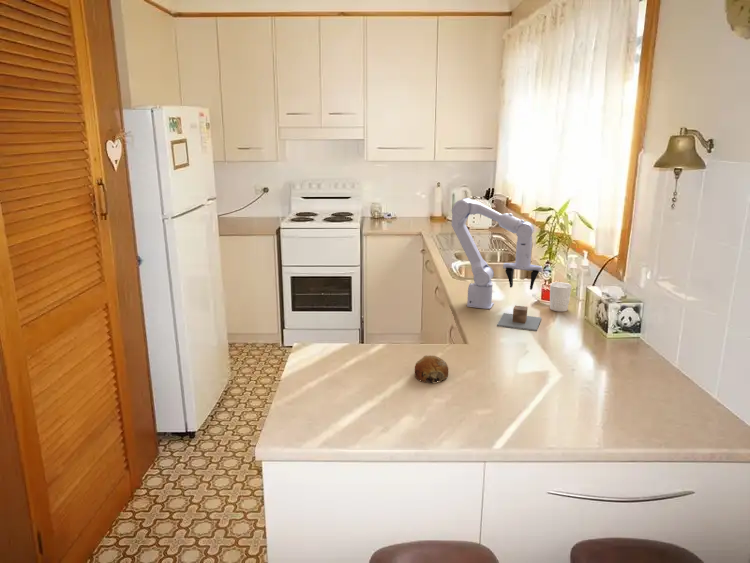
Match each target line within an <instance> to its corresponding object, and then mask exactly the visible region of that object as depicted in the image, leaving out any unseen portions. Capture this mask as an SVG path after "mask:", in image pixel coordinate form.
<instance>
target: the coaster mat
mask: <svg viewBox="0 0 750 563" xmlns="http://www.w3.org/2000/svg"><path fill="white" fill-rule="evenodd" d="M541 321H542V317H541V316H531V315H527V320H526V322H525V323H517V322H513V313H507V312H504V313H503V314H502V316H501V317H500V319H499V320H498V322H497V324H496V327H501V328H510V329H516V330H523V331H524V330H526V331H533V332H537V331H538V329H539V326H540V324H541Z"/></svg>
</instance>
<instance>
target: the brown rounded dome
mask: <svg viewBox="0 0 750 563" xmlns="http://www.w3.org/2000/svg"><path fill="white" fill-rule="evenodd" d="M414 377H415V378H416V380H418V379H419V380H421V381H420V382H422V381H425V382H424V383H427V382H437V381H441V382H443V381H445V380H446V379H447V378H448V377H449V366H448V364H447V362H446V361H445V359H443V358H441V357H439V356H437V355H430V354H429V355H428V354H427V355H424V356H423V357H421V358H420V359H419V360H418V361H417V362H416V363H415V365H414ZM444 379H445V380H444ZM419 380H418V381H419ZM442 380H443V381H442ZM437 383H438V382H437Z"/></svg>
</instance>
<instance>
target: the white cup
mask: <svg viewBox="0 0 750 563" xmlns="http://www.w3.org/2000/svg"><path fill="white" fill-rule="evenodd" d="M549 287H550V288H549V309H550V310H551V311H555V312H566V311H568V309H569V304H570V298H571V291H572V284H570V283H568V282H561V281H560V282H559V281H556V282H555V281H554V282H550V285H549Z"/></svg>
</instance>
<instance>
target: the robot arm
mask: <svg viewBox="0 0 750 563" xmlns="http://www.w3.org/2000/svg"><path fill="white" fill-rule="evenodd" d="M451 213H452V214H451V227H452V230H453V232H454V233H455V235H456V238H457V239H458V241H459V243H460V246H461V248H462V249H463V251H464V253H465V256H466V257H467V259H468V261H469V263H470V265H471V272H472V275H473V281H474V282H473V283H472V282H471V283H470V282H469V284H468V289H467V301H466V302H467V303H466V304H467V305H466V307H468V308H469V307H471V308H477V309H486V310H491V309H492V307H493V306H494V305H495V302H493V301H492V300H493V282H492V279H493V278H494V275H495V272H494V270H493V267H491V266H489V265H488V263H487V261H486V260H485V259H484V258H483V256H482V254H481V252H480V250H479V248H478V246H477V244H476V242H475V240H474V238H473V236H472V235H471V232H470V230H469V227H468V226H467V224H466V223H467V221H468V218H469V216H470V215H471V216H472V215H481V216H484V217H486V218H488V219H490V220H493V221H495V222H497V224H498V226H499V227H500V228H502V229H504V230H505V231H508V232H510V233H512V234H516V236H517V237H516V238H517V239H516V248H515V250H516V251H515V259H514V260H515V261H514V262H504V263H503V264H502V268H503V269H505V271H504V272H505V274H506V277H507V279H508V282H509V283H508V284H509V288H513V285H514V271H515V270H519V271H528V272H529V271H530V272H531V273H530V285H529V290H530V291H531V290H533V287H534V283H535V281H536V279H537V277H538V274H539V273H542V272H543V266H542V265H536V264H532V263H531V262H532V252H533V251H532V250H533V233H534V231H535V230H534V229H535V227H534V225H533V223H531V222H530V221H527V220H526V221H525V220H524V219H522V218H518V217H515V216H514V214H513V213H511V212H509V213H508V212H505V213H500V212H498V211H497V210H495V209H492V208H491V207H490V206H487V205H485V204H483V203H482V202H480V201H478V200H476V199H472V198H470V197H463V198H462V199H459V200H457V201H456V202H455V203H454V205H453V206H452V209H451Z"/></svg>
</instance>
